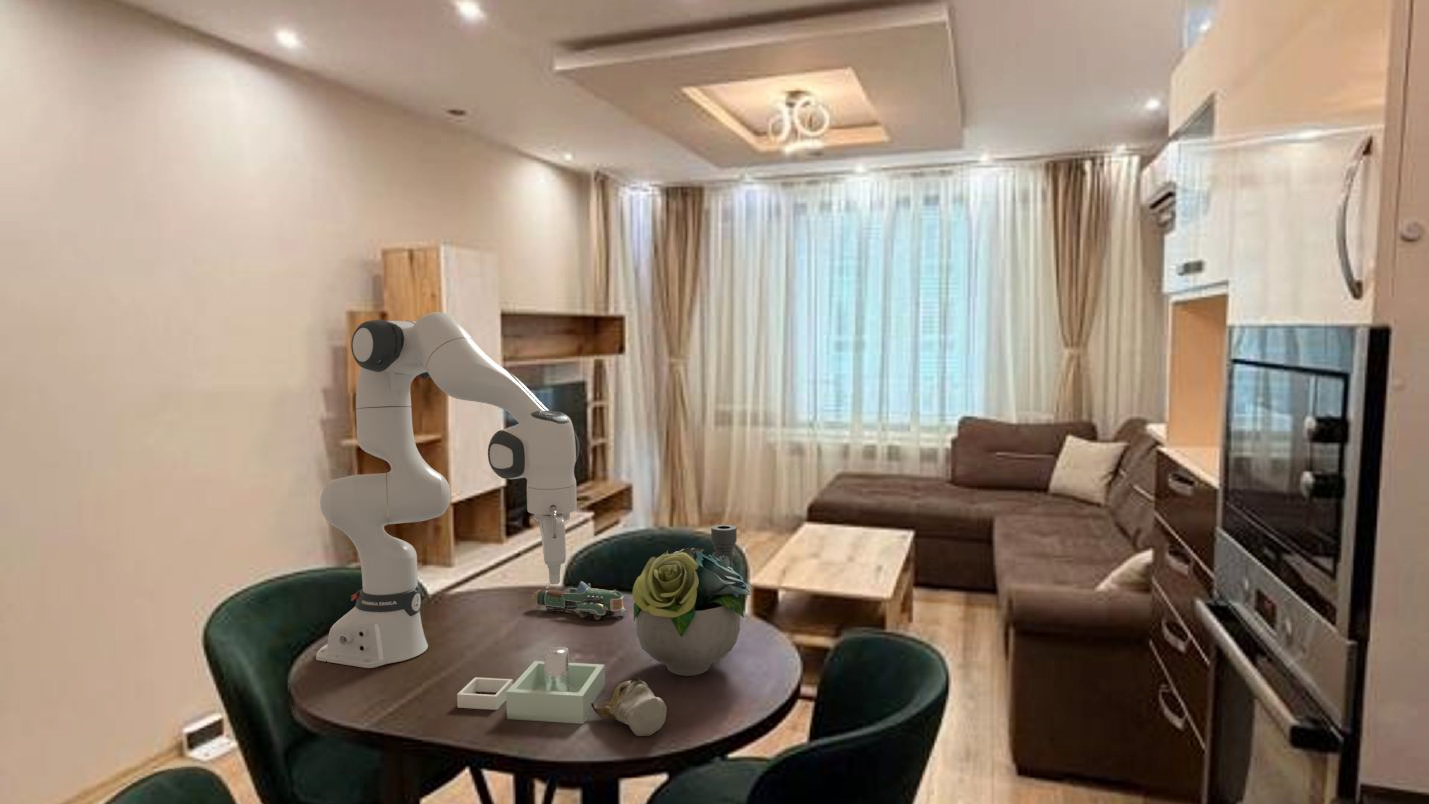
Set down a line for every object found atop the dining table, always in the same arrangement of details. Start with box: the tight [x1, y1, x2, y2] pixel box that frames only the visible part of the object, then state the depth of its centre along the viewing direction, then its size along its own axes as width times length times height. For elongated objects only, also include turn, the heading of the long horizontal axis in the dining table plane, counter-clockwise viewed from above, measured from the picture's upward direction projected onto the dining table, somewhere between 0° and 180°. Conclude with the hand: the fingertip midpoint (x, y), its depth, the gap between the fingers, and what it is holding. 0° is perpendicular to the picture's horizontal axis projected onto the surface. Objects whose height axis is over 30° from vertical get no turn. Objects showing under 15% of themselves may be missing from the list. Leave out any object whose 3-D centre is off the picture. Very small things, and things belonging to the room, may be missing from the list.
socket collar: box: [456, 677, 514, 711], centre depth 153 cm, size 8×8×2 cm
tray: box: [505, 660, 606, 725], centre depth 150 cm, size 14×14×5 cm
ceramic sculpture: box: [591, 677, 668, 737], centre depth 142 cm, size 11×9×15 cm
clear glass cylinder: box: [543, 646, 570, 692], centre depth 150 cm, size 4×4×9 cm
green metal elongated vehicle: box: [531, 580, 627, 621], centre depth 201 cm, size 10×25×8 cm, turn 73°
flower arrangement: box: [632, 547, 753, 677], centre depth 165 cm, size 25×25×24 cm
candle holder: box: [710, 524, 739, 598], centre depth 184 cm, size 6×6×25 cm
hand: (553, 575), depth 149 cm, fingers open, 8 cm apart
